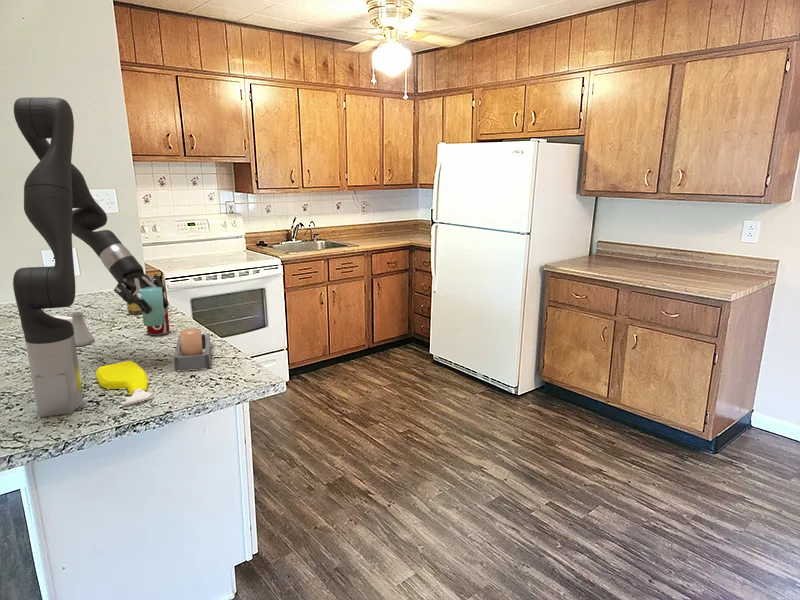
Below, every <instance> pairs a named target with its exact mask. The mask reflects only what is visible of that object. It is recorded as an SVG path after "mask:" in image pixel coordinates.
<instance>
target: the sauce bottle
mask: <svg viewBox="0 0 800 600" xmlns="http://www.w3.org/2000/svg"><path fill="white" fill-rule="evenodd" d="M127 297H128V296H127ZM128 298H129V297H128ZM129 299H130V298H129ZM126 305H127V307H126V308H127V312H128V313H130V315H132V314H133V315H134V314H136V315H141V314H140V313H142V310H141V309H140V308H139V306H138V305H136V304H134V303H132V304H128V303H127V302H126Z"/></svg>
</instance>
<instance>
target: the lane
mask: <svg viewBox="0 0 800 600" xmlns="http://www.w3.org/2000/svg"><path fill="white" fill-rule="evenodd" d="M177 338H178V339H177V343H176V346H175V351H174V356H173V362H174V363H173V364H174V372H175V371H178V370H188V371H190V370H189V369H198V370H202V369H201V368H208V369H211V347H212V346H211V344H212V343H211V333H210V332H208V333H205V339H206V347H204V349H205V351H204V353H203V354H200V355H189V356H182V350H181V339H180V334H179V335H178V337H177ZM178 372H179V371H178Z"/></svg>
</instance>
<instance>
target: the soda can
mask: <svg viewBox="0 0 800 600" xmlns="http://www.w3.org/2000/svg"><path fill="white" fill-rule="evenodd" d="M164 316H165V323H164V324H162V325H158V326H146V333H147V334H148V335H151V336H153V337H158V336H164V335H167V334H168V333H169V332H170V320H169V310H168V307H167V308H165V309H164Z"/></svg>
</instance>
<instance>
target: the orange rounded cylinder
mask: <svg viewBox="0 0 800 600" xmlns="http://www.w3.org/2000/svg"><path fill="white" fill-rule="evenodd" d="M201 334H202V330H201V329H200V328H193V327H192V328H186V329H183V330H180V331H179V335H180V339H181V350H182V356H189V355H200V354H204V353H203V352H204V351H203V348H202V338H201Z"/></svg>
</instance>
